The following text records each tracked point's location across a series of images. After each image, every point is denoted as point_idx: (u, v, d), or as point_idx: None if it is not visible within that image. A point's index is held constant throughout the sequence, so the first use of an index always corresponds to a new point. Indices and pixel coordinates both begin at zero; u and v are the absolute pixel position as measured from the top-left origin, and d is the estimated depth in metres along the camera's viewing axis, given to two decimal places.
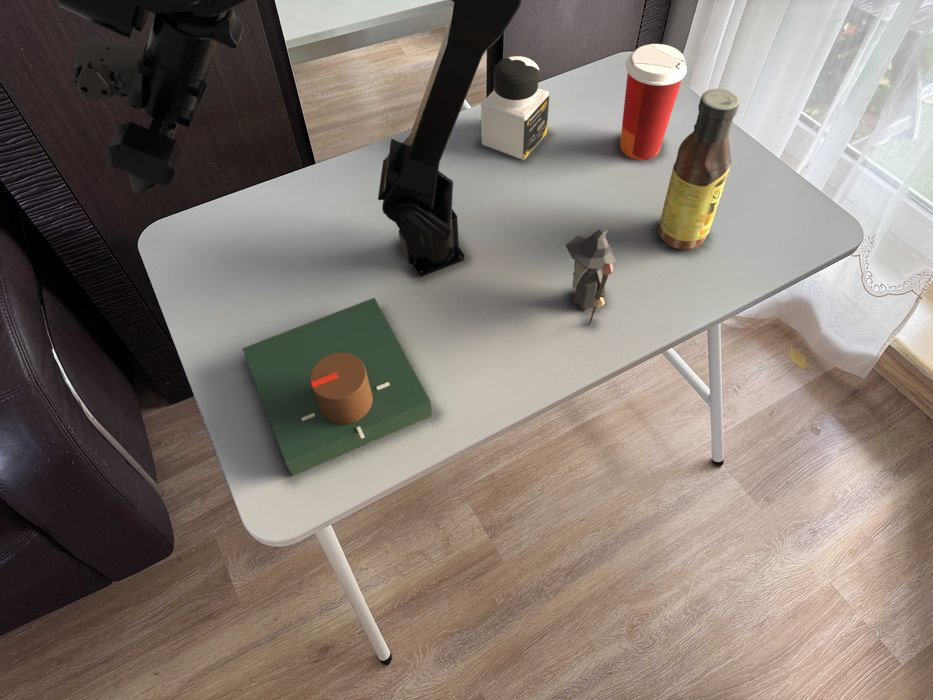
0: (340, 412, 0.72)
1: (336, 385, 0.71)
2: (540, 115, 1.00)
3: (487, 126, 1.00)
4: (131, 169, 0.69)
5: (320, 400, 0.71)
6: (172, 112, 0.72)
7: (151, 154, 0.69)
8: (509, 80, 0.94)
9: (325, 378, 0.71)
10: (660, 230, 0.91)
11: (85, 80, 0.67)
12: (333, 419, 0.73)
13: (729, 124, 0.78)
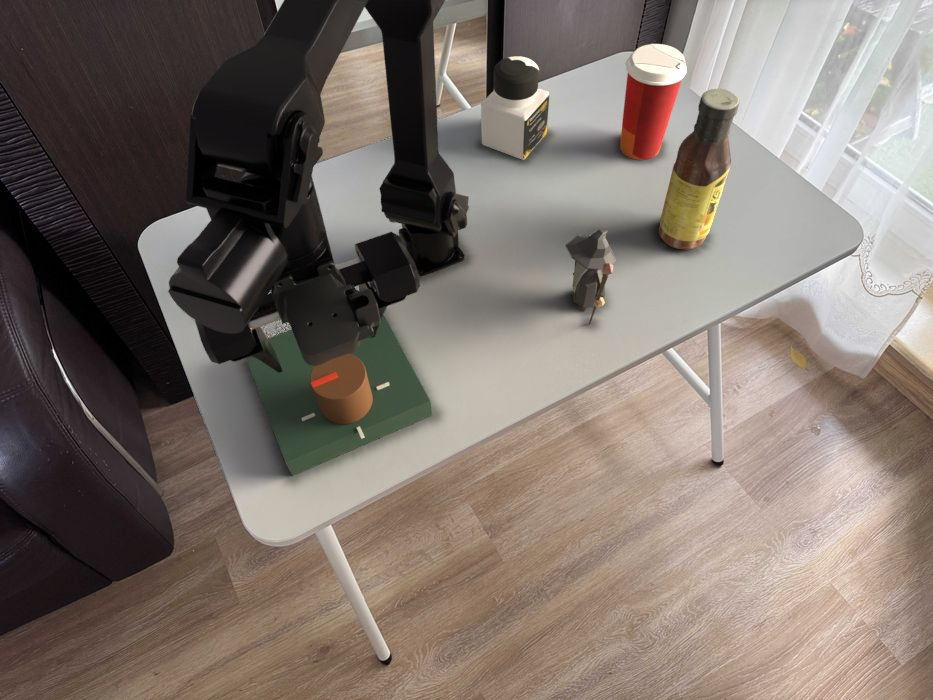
0: (340, 412, 0.72)
1: (336, 385, 0.71)
2: (540, 115, 1.00)
3: (487, 126, 1.00)
4: None
5: (320, 400, 0.71)
6: None
7: (396, 244, 0.62)
8: (509, 80, 0.94)
9: (325, 378, 0.71)
10: (660, 230, 0.91)
11: None
12: (333, 419, 0.73)
13: (729, 124, 0.78)
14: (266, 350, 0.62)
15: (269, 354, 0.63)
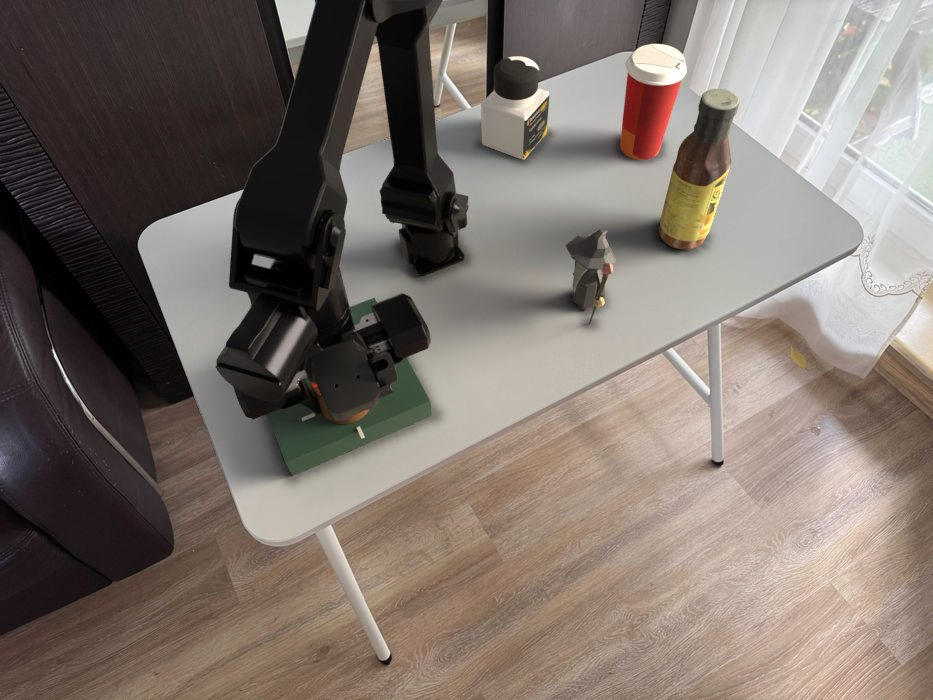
0: None
1: None
2: (540, 115, 1.00)
3: (487, 126, 1.00)
4: None
5: (320, 400, 0.71)
6: None
7: (408, 305, 0.69)
8: (509, 80, 0.94)
9: None
10: (660, 230, 0.91)
11: None
12: (333, 419, 0.73)
13: (729, 124, 0.78)
14: (309, 396, 0.69)
15: (311, 399, 0.70)
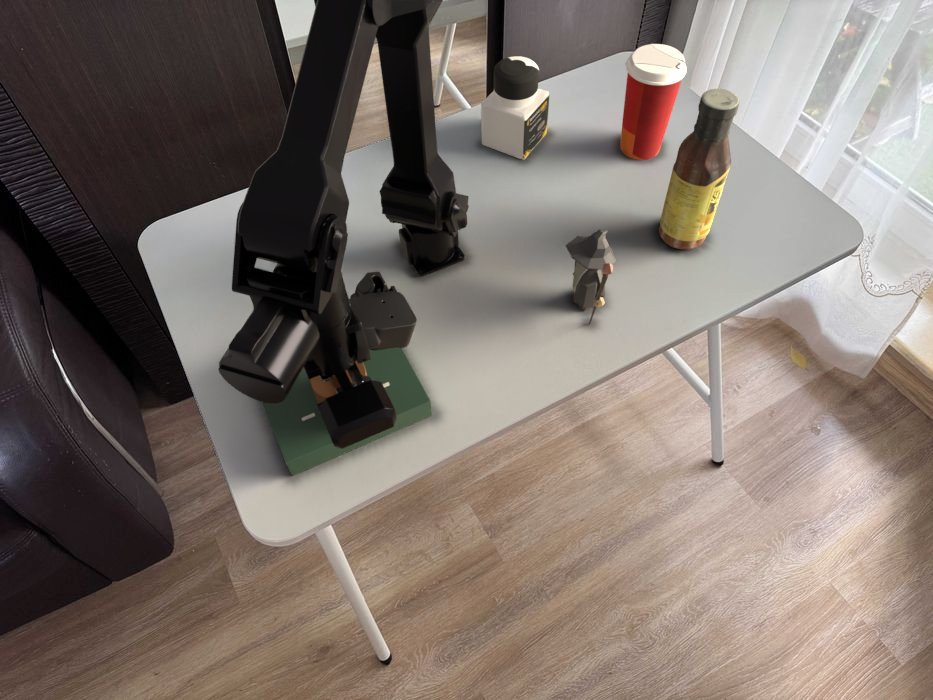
0: None
1: None
2: (540, 115, 1.00)
3: (487, 126, 1.00)
4: None
5: None
6: None
7: None
8: (509, 80, 0.94)
9: None
10: (660, 230, 0.91)
11: None
12: None
13: (729, 124, 0.78)
14: None
15: None
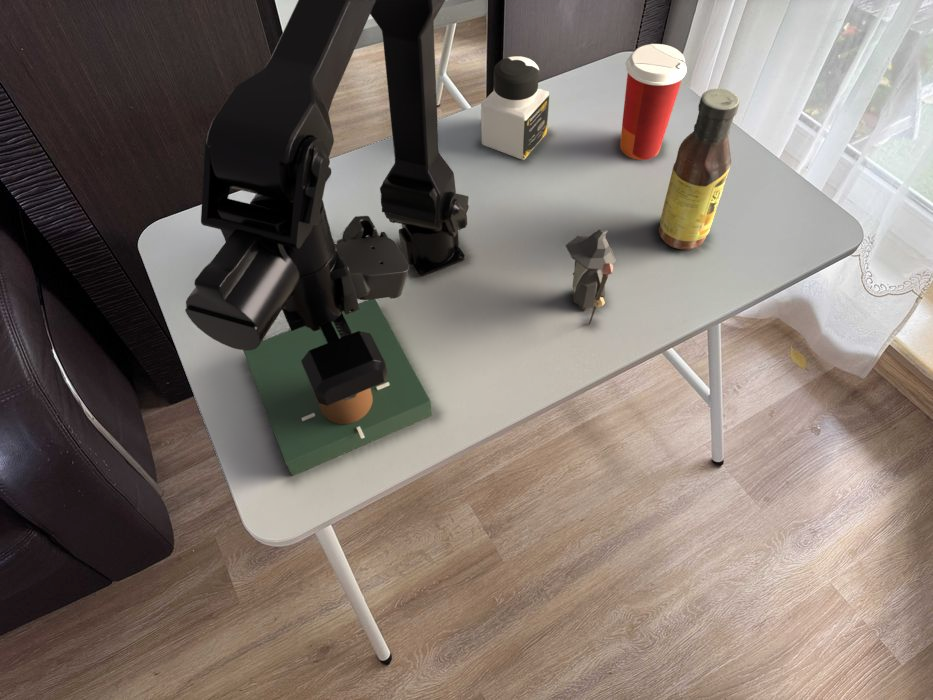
0: None
1: None
2: (540, 115, 1.00)
3: (487, 126, 1.00)
4: None
5: (360, 395, 0.71)
6: None
7: None
8: (509, 80, 0.94)
9: None
10: (660, 230, 0.91)
11: None
12: (369, 404, 0.74)
13: (729, 124, 0.78)
14: None
15: None
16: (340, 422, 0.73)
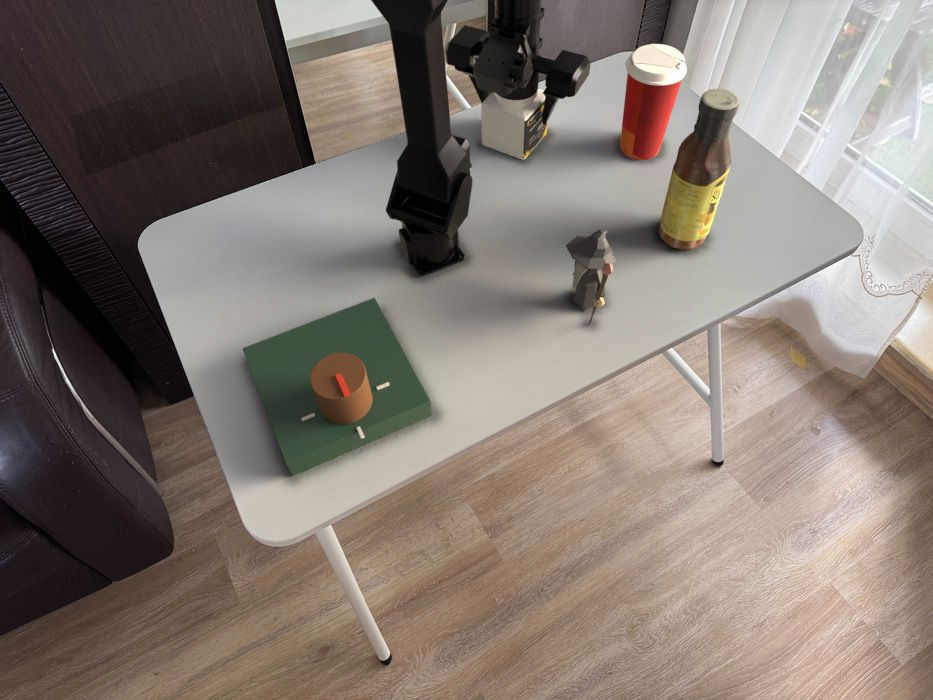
0: (369, 387, 0.73)
1: (350, 375, 0.71)
2: (540, 115, 1.00)
3: (487, 126, 1.00)
4: (580, 84, 0.91)
5: (360, 395, 0.71)
6: (539, 44, 0.92)
7: (580, 62, 0.90)
8: None
9: (341, 383, 0.70)
10: (660, 230, 0.91)
11: (525, 73, 0.87)
12: (369, 404, 0.74)
13: (729, 124, 0.78)
14: None
15: None
16: (340, 422, 0.73)
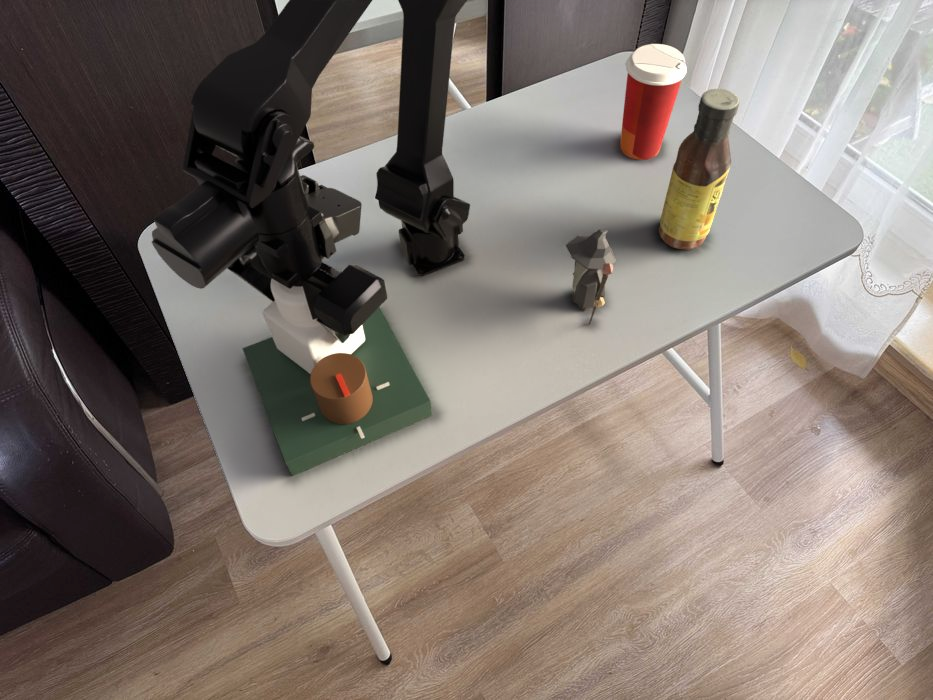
0: (369, 387, 0.73)
1: (350, 375, 0.71)
2: None
3: None
4: None
5: (360, 395, 0.71)
6: None
7: None
8: None
9: (341, 383, 0.70)
10: (660, 230, 0.91)
11: None
12: (369, 404, 0.74)
13: (729, 124, 0.78)
14: None
15: None
16: (340, 422, 0.73)
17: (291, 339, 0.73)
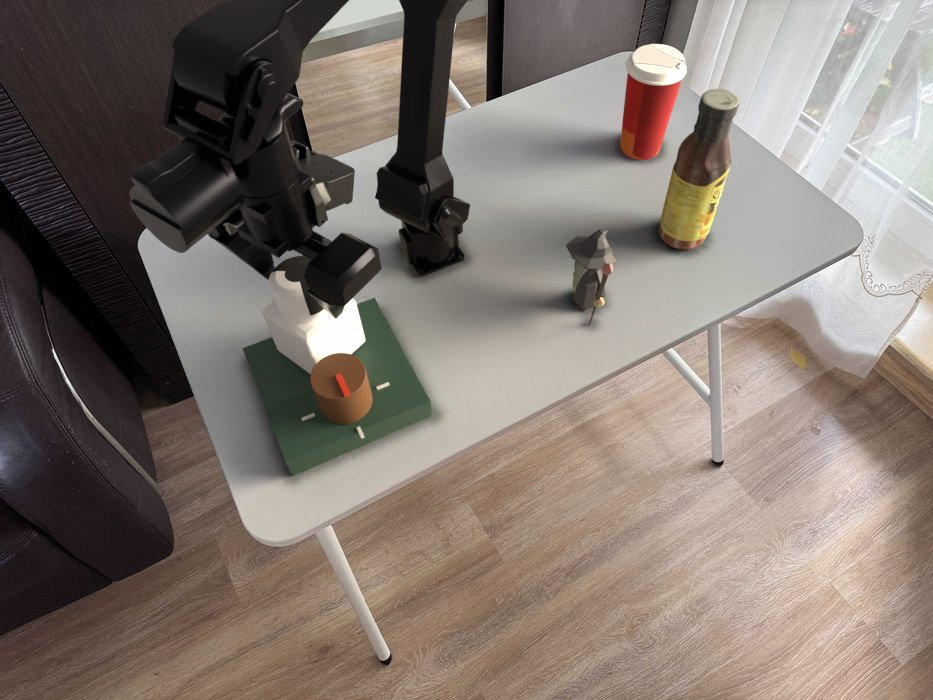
0: (369, 387, 0.73)
1: (350, 375, 0.71)
2: None
3: None
4: None
5: (360, 395, 0.71)
6: None
7: None
8: None
9: (341, 383, 0.70)
10: (660, 230, 0.91)
11: None
12: (369, 404, 0.74)
13: (729, 124, 0.78)
14: None
15: None
16: (340, 422, 0.73)
17: (290, 336, 0.73)
